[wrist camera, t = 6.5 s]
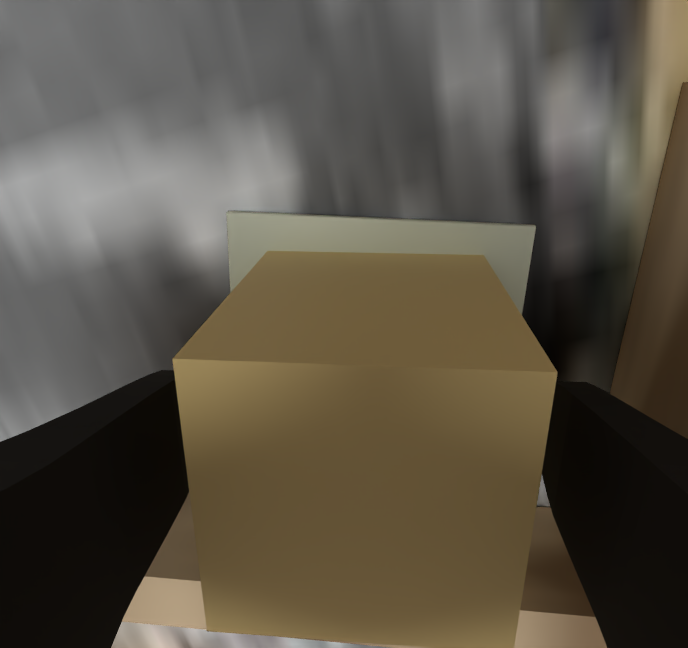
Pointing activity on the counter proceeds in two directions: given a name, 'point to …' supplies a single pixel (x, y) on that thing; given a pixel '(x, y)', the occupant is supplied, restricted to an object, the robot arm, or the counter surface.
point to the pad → (381, 241)
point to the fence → (546, 543)
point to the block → (365, 450)
